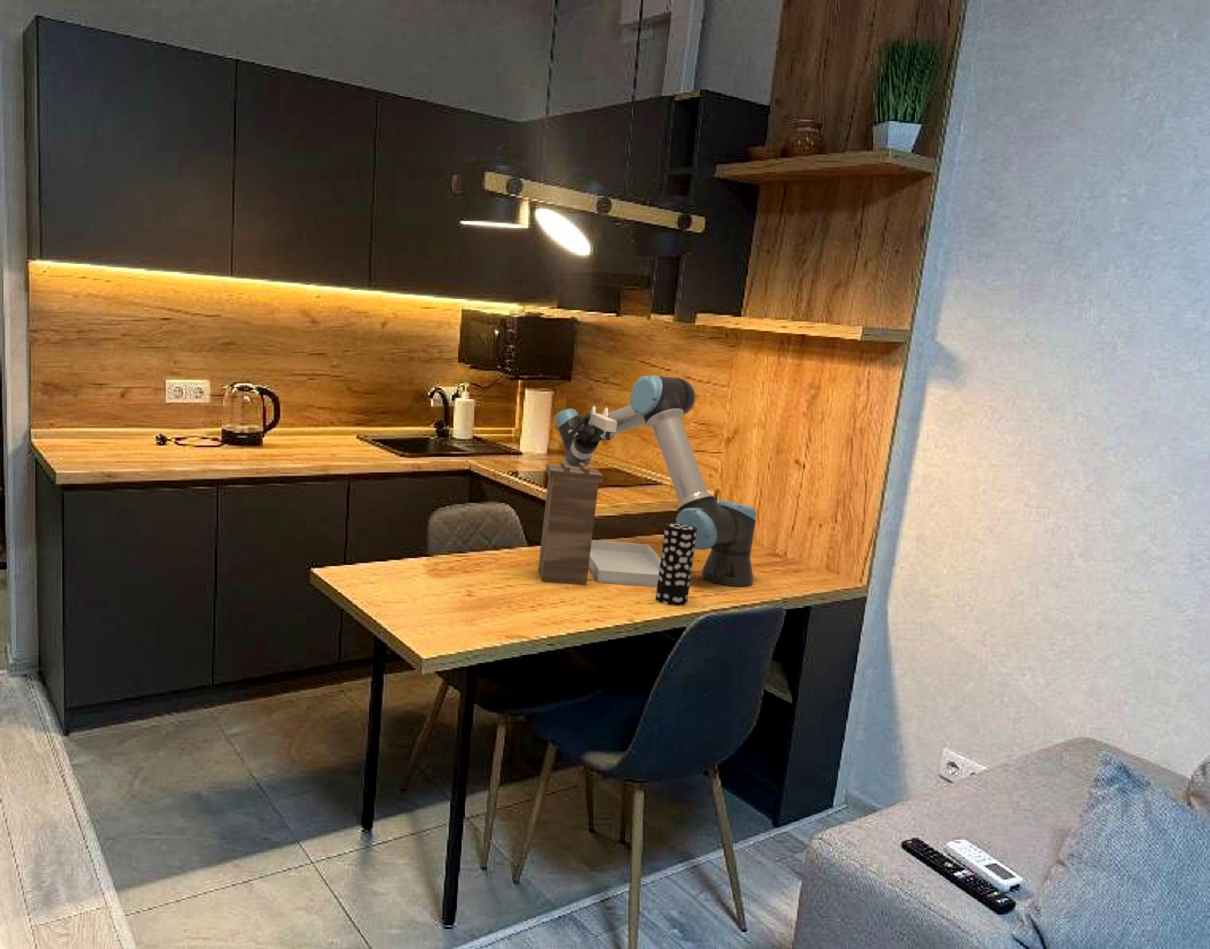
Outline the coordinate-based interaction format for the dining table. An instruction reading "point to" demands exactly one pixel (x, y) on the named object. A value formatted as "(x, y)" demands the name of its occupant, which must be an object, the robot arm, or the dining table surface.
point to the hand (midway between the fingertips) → (600, 411)
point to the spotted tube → (676, 564)
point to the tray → (624, 563)
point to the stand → (568, 523)
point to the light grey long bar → (604, 423)
